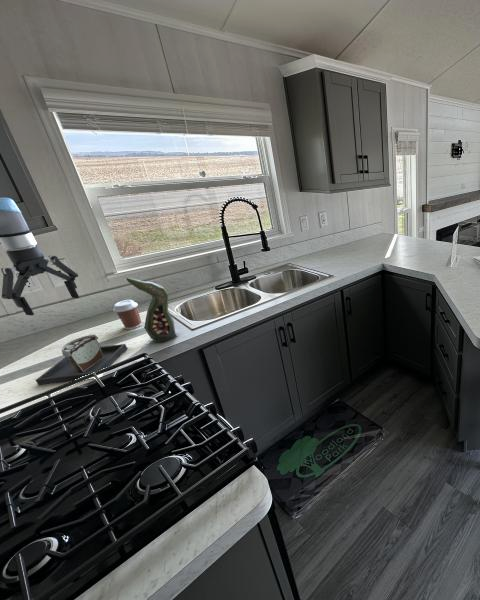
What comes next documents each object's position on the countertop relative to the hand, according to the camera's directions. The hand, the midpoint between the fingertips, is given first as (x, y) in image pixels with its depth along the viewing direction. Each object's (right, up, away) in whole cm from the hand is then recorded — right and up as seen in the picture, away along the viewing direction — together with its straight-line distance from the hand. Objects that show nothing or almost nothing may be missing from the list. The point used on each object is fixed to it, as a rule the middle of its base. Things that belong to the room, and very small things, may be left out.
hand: (54, 305), depth 115 cm
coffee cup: (-4, -10, +40) cm, 41 cm away
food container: (+1, -23, +11) cm, 26 cm away
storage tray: (+1, -23, +11) cm, 26 cm away
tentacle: (+20, -15, +29) cm, 38 cm away
